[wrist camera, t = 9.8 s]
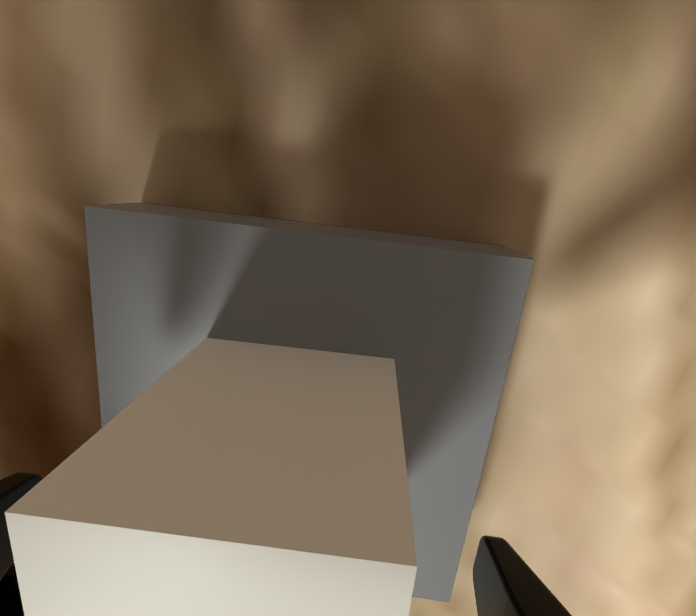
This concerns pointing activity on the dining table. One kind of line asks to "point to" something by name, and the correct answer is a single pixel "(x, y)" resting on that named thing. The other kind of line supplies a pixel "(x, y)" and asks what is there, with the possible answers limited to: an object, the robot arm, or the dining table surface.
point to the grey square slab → (322, 329)
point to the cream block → (230, 495)
